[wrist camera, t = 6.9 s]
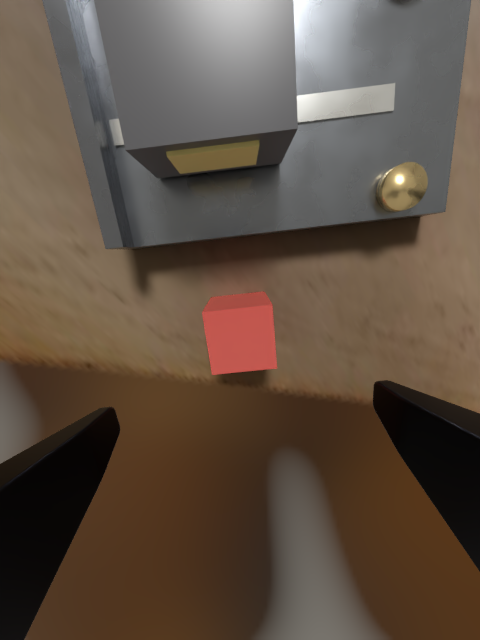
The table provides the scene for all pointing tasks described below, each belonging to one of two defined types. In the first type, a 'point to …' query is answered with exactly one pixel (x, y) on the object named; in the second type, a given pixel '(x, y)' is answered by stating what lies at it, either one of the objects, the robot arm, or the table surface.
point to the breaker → (202, 81)
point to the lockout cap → (240, 333)
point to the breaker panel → (310, 138)
